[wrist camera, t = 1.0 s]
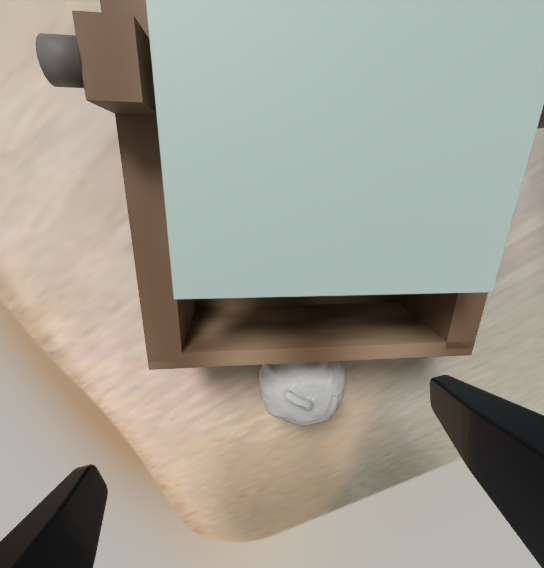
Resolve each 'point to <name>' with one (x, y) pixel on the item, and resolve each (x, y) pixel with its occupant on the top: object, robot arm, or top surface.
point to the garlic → (302, 390)
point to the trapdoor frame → (229, 311)
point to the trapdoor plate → (343, 142)
